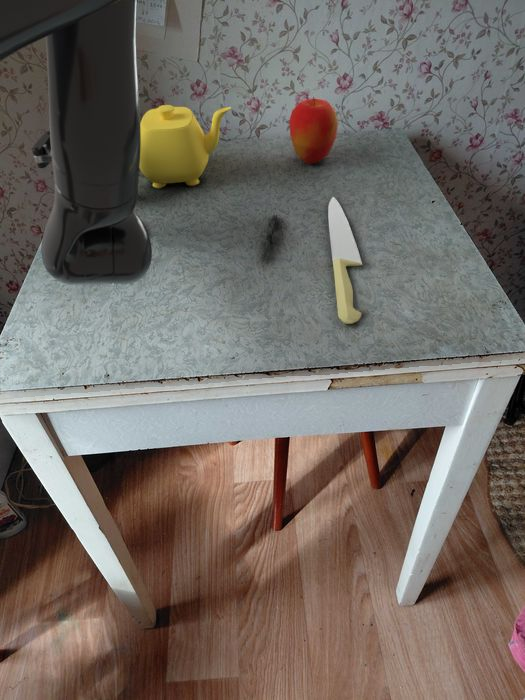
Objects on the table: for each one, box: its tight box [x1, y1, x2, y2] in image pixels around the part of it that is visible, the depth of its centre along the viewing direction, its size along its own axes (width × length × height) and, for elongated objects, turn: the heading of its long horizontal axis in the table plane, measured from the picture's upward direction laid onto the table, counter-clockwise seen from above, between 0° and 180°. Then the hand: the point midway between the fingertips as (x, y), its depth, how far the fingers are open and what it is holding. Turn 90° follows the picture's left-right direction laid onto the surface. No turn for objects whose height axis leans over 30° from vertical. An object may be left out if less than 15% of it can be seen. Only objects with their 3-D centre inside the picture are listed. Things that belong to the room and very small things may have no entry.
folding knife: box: [263, 214, 278, 263], centre depth 84 cm, size 13×1×2 cm, turn 171°
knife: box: [327, 196, 363, 325], centre depth 82 cm, size 1×32×5 cm
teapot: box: [139, 104, 232, 189], centre depth 97 cm, size 14×20×13 cm
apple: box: [288, 96, 339, 165], centre depth 100 cm, size 9×9×12 cm
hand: (83, 122), depth 77 cm, fingers closed on tube, 4 cm apart
